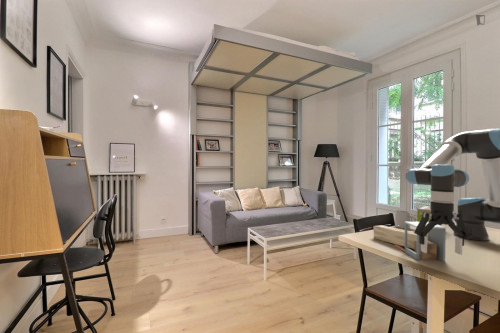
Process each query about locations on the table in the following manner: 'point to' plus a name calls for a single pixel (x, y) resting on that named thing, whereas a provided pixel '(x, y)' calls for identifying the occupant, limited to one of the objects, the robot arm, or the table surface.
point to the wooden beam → (395, 235)
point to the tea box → (420, 212)
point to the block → (431, 250)
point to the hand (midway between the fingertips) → (441, 252)
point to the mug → (403, 219)
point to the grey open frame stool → (434, 235)
